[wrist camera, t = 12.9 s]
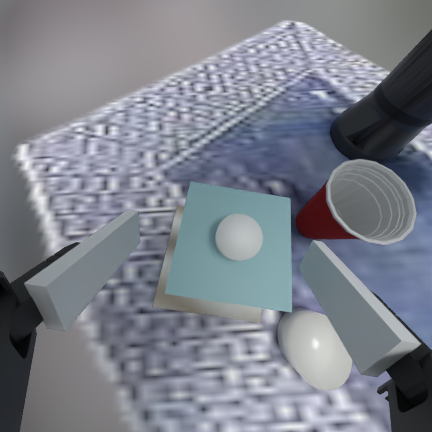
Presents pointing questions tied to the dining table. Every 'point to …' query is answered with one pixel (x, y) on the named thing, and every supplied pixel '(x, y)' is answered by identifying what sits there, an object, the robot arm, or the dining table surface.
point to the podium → (193, 303)
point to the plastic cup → (360, 205)
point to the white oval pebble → (313, 348)
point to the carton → (234, 248)
